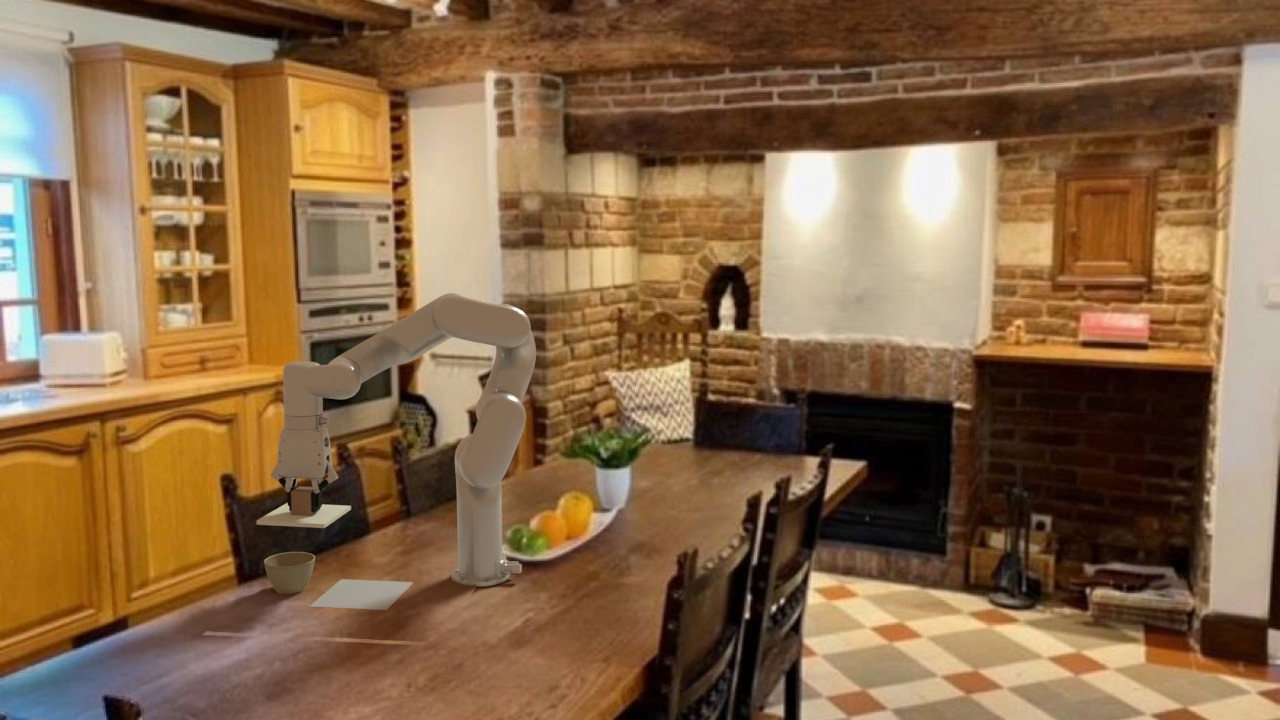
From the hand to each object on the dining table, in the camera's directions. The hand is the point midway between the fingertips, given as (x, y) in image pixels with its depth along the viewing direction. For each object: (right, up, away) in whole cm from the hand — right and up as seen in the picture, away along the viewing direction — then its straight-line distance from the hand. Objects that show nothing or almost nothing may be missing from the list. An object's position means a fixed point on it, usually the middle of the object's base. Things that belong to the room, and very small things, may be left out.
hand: (305, 509), depth 208 cm
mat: (+12, -18, 0) cm, 22 cm away
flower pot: (-4, -18, +3) cm, 19 cm away
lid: (0, -2, 0) cm, 2 cm away
